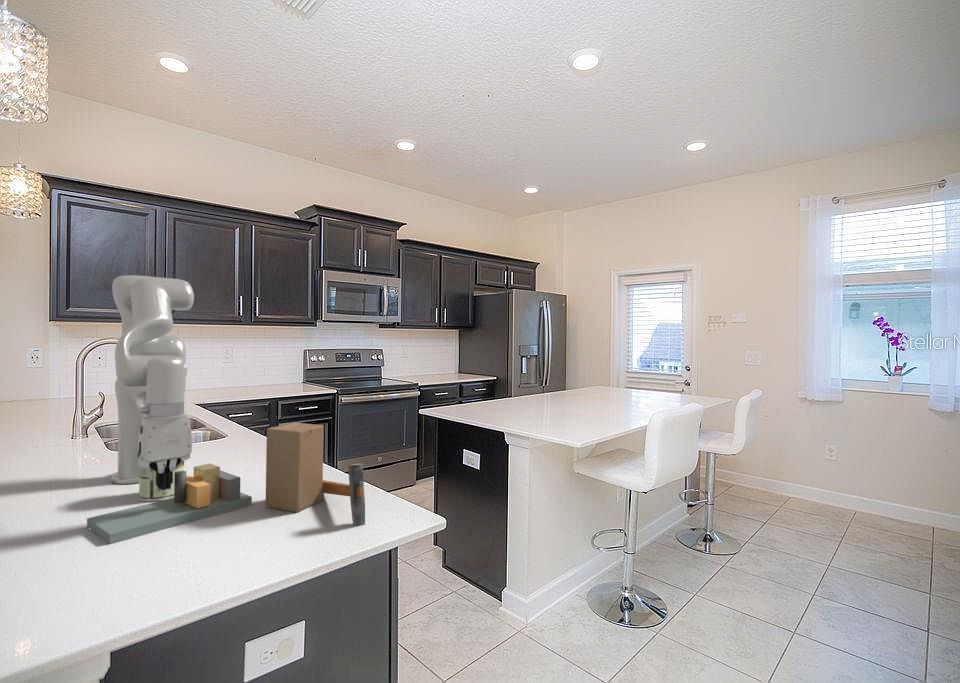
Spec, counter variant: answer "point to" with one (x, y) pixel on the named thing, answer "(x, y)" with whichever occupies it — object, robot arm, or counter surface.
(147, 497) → the coffee can
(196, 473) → the brass block
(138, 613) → the counter surface
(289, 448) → the wooden block
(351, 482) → the hammer
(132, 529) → the vise
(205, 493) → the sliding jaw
